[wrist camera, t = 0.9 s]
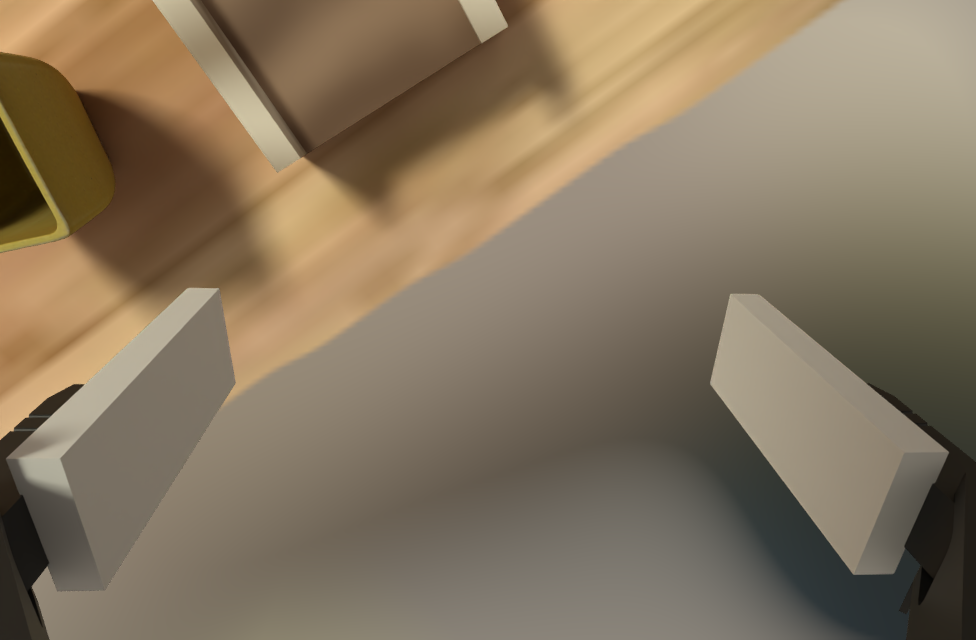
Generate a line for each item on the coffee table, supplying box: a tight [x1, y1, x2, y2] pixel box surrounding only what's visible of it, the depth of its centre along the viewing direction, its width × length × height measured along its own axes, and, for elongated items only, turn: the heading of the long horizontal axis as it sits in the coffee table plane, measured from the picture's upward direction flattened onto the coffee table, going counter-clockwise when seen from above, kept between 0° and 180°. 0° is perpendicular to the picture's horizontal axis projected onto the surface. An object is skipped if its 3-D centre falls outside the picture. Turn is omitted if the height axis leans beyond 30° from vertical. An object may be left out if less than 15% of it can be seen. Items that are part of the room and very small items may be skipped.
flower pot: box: [0, 52, 115, 253], centre depth 31 cm, size 9×9×9 cm
